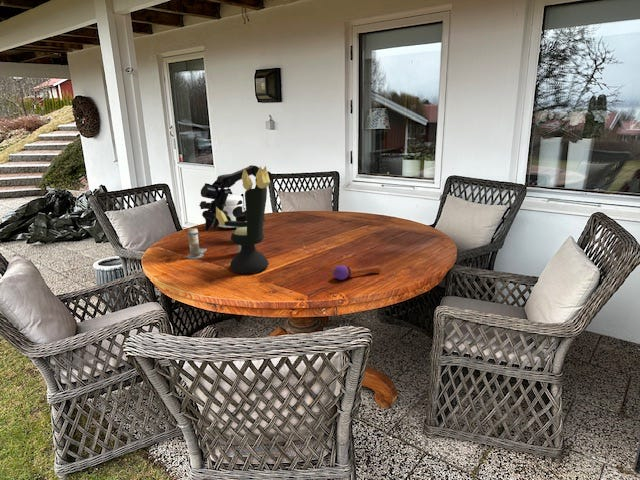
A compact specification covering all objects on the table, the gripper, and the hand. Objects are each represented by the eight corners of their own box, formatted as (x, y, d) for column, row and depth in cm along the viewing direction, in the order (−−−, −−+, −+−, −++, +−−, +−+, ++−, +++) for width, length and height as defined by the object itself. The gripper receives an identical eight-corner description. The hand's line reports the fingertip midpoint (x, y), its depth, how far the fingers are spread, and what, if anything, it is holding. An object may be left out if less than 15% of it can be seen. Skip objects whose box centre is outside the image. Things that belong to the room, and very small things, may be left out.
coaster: (207, 254, 205) (206, 253, 205) (197, 259, 198) (197, 258, 198) (192, 253, 207) (192, 252, 207) (183, 258, 200) (183, 257, 200)
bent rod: (207, 250, 211) (206, 248, 211) (201, 253, 207) (201, 251, 206) (194, 249, 213) (194, 247, 213) (189, 252, 209) (188, 250, 208)
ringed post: (202, 254, 204) (199, 228, 200) (196, 257, 199) (194, 230, 196) (193, 253, 205) (190, 227, 202) (187, 256, 201) (184, 230, 197)
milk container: (212, 227, 256) (209, 197, 251) (236, 222, 268) (234, 193, 262) (226, 232, 244) (224, 201, 239) (252, 226, 255) (249, 197, 250)
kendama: (383, 266, 172) (338, 270, 165) (380, 279, 175) (336, 283, 167) (376, 259, 177) (332, 263, 170) (373, 272, 180) (330, 275, 172)
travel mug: (249, 256, 201) (246, 215, 195) (236, 255, 202) (233, 214, 197) (254, 252, 207) (251, 212, 201) (241, 251, 208) (238, 212, 202)
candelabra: (252, 258, 198) (245, 161, 185) (287, 267, 184) (282, 163, 172) (220, 269, 184) (210, 165, 171) (254, 280, 171) (246, 168, 158)
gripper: (213, 194, 219) (203, 222, 222) (197, 195, 201) (187, 225, 204) (232, 201, 218) (223, 229, 221) (218, 203, 200) (208, 234, 203)
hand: (210, 229), depth 212 cm, fingers open, 9 cm apart
